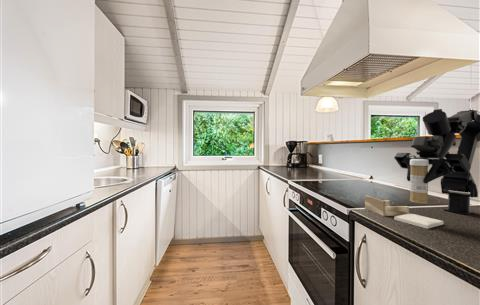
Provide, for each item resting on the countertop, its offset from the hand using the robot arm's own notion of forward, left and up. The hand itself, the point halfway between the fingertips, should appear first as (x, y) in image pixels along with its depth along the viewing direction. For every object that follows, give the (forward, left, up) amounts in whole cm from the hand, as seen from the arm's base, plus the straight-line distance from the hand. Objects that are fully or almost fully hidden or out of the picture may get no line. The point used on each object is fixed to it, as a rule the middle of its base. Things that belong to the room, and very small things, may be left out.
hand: (415, 181), depth 69 cm
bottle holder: (-4, -11, -13) cm, 18 cm away
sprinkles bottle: (-1, 0, -7) cm, 7 cm away
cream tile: (-1, 0, -13) cm, 13 cm away
